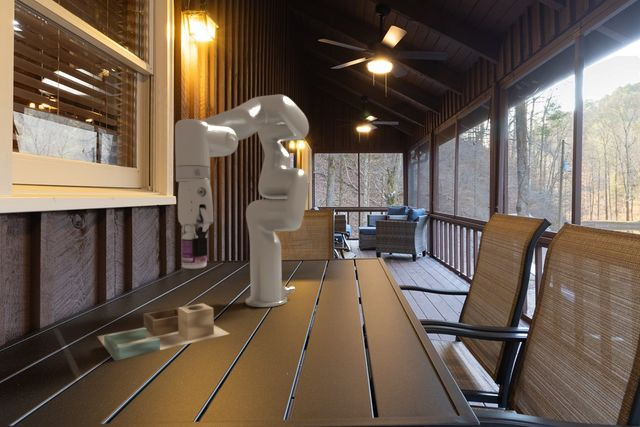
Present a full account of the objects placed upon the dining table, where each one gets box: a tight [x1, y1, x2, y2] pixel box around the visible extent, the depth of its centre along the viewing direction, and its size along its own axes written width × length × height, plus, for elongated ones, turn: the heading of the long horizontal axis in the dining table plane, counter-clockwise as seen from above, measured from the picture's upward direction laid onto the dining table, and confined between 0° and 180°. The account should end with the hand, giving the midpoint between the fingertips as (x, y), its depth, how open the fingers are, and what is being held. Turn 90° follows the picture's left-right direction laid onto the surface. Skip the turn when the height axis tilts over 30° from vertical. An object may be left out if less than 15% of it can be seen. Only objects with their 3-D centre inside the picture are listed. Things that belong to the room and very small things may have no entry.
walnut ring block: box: [143, 307, 179, 336], centre depth 97 cm, size 8×8×4 cm
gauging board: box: [96, 324, 231, 361], centre depth 92 cm, size 24×18×3 cm
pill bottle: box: [181, 225, 208, 269], centre depth 92 cm, size 5×5×10 cm
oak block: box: [177, 302, 215, 340], centre depth 93 cm, size 6×6×6 cm
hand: (194, 253), depth 92 cm, fingers closed on pill bottle, 5 cm apart
